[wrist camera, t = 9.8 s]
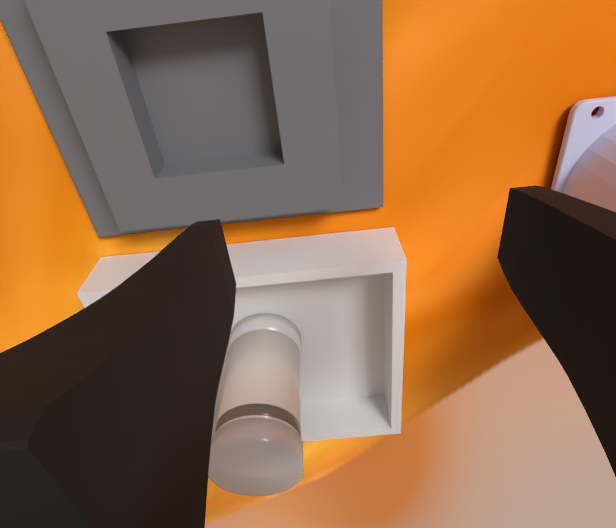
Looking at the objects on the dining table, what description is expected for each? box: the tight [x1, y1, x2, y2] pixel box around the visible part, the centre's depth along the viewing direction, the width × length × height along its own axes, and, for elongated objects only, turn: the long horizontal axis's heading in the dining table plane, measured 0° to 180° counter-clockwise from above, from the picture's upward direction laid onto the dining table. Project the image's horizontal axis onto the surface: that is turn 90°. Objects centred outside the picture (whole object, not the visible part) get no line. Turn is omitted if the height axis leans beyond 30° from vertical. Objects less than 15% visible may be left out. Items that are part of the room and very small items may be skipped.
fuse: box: [208, 313, 303, 496], centre depth 22 cm, size 4×4×8 cm
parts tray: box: [77, 227, 407, 442], centre depth 24 cm, size 15×13×3 cm
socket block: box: [0, 0, 383, 237], centre depth 17 cm, size 14×12×2 cm
